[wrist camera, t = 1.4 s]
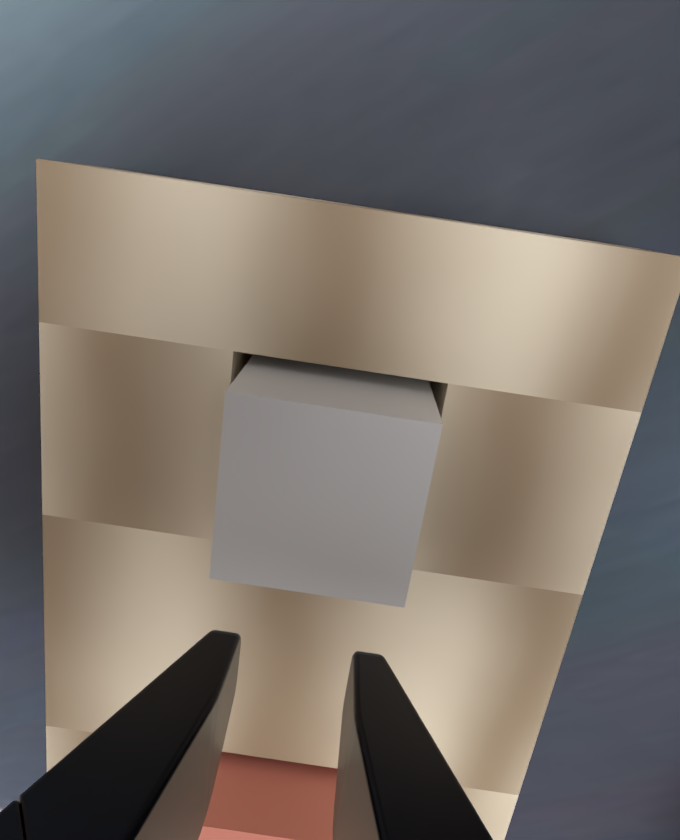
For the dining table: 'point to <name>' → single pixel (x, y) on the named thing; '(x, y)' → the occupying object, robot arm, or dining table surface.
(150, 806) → the robot arm
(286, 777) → the button red
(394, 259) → the console
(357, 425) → the button grey
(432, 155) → the dining table surface
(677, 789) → the dining table surface
